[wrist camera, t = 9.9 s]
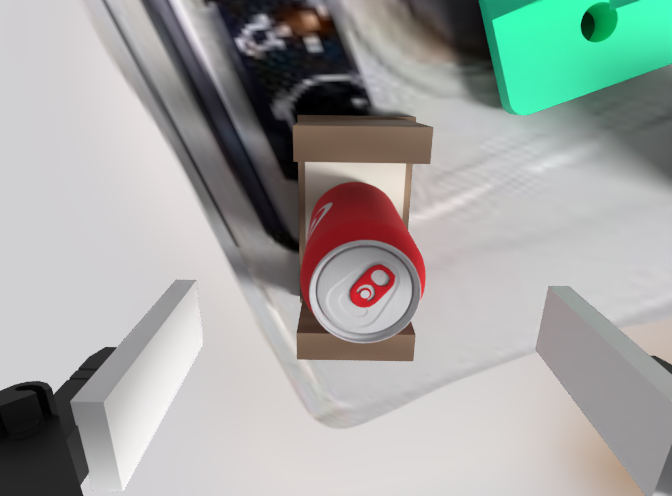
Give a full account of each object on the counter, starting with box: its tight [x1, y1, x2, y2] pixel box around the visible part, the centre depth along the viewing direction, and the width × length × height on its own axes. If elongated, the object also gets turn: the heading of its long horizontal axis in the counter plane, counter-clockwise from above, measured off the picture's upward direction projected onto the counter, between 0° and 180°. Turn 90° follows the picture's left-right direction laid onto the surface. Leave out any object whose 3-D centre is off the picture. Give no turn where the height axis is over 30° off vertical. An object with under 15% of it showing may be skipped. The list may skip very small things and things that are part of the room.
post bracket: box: [293, 115, 433, 361], centre depth 28 cm, size 14×8×9 cm, turn 179°
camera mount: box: [479, 0, 672, 115], centre depth 23 cm, size 12×8×10 cm, turn 110°
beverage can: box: [300, 182, 425, 343], centre depth 25 cm, size 6×6×12 cm
